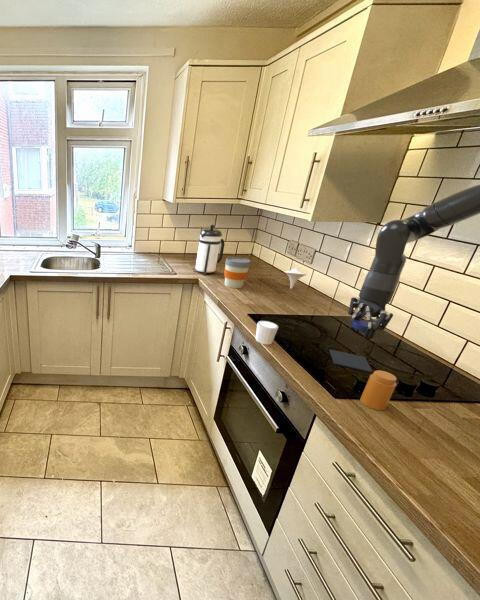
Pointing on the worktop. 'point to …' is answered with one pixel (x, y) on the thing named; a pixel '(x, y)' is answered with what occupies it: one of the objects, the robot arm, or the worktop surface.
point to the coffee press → (209, 250)
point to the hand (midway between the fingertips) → (360, 333)
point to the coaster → (350, 361)
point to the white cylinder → (266, 332)
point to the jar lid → (360, 325)
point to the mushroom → (294, 276)
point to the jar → (378, 390)
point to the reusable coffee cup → (236, 271)
